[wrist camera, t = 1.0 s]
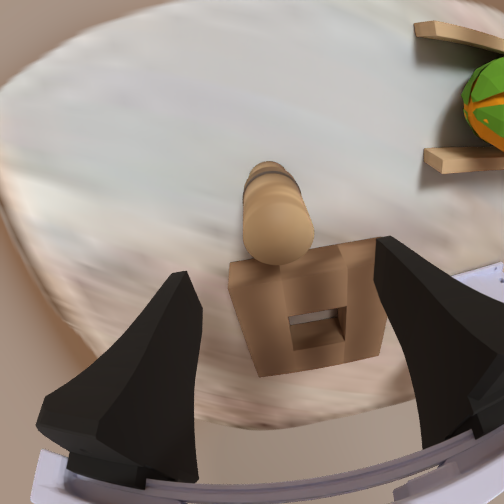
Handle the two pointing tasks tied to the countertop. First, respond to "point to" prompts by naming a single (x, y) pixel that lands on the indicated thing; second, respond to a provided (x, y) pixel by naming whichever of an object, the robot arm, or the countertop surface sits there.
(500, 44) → the chock rails
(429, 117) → the countertop surface
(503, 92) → the green orange papaya
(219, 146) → the countertop surface
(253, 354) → the walnut block
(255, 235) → the peg
